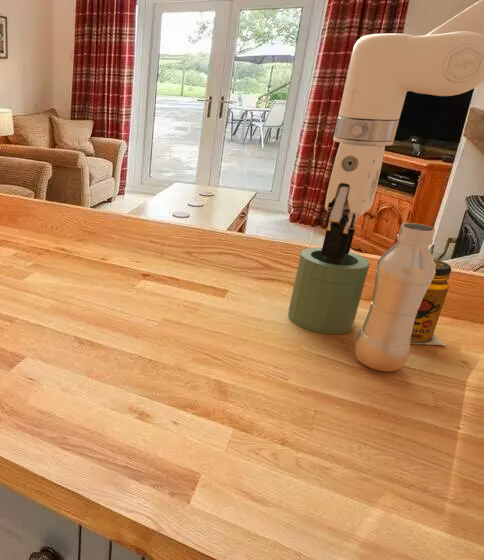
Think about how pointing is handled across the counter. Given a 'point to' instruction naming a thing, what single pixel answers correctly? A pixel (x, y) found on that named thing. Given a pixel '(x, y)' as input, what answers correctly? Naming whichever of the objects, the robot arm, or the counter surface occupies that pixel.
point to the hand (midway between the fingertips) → (335, 253)
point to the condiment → (431, 307)
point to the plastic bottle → (396, 299)
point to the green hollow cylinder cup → (327, 292)
